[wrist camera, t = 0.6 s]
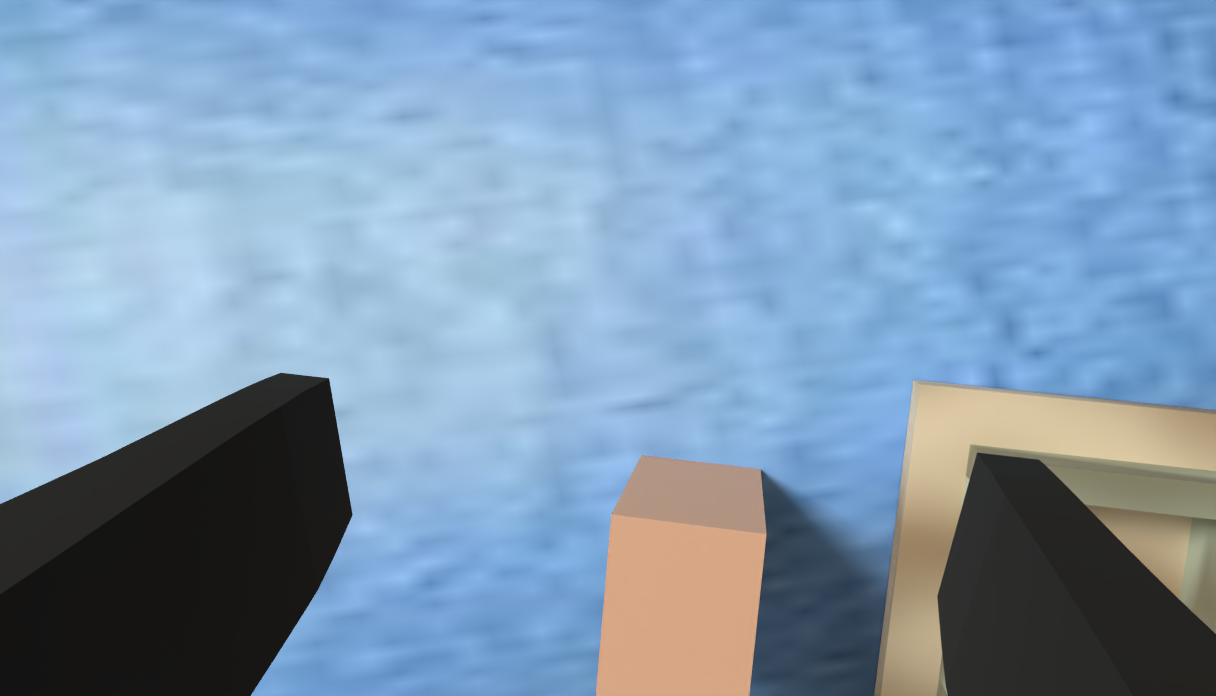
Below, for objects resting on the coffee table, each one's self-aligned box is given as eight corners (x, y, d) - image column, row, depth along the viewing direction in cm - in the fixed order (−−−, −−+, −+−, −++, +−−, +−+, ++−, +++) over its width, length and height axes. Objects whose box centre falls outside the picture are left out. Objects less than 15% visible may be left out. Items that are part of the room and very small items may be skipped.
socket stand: (1224, 786, 28) (1281, 849, 25) (869, 731, 29) (884, 784, 26) (1288, 417, 26) (1357, 437, 23) (913, 380, 28) (934, 393, 25)
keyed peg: (745, 612, 30) (746, 719, 23) (629, 595, 30) (596, 695, 23) (760, 469, 29) (766, 533, 22) (641, 455, 30) (611, 514, 23)
